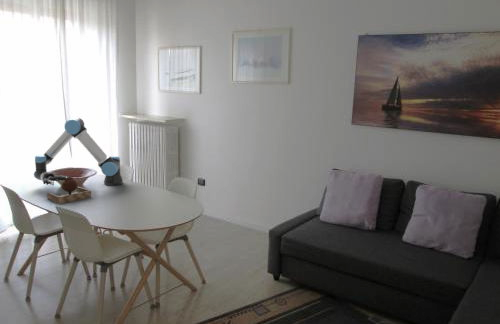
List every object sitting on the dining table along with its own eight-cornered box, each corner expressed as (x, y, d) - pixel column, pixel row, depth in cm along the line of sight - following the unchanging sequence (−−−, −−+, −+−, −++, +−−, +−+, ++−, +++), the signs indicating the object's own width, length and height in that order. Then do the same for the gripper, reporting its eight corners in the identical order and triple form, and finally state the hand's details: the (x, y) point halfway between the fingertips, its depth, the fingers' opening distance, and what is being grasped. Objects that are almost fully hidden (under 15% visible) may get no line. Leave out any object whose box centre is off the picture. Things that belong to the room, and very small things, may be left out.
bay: (78, 192, 314) (78, 186, 313) (91, 197, 304) (90, 190, 303) (47, 199, 295) (47, 192, 294) (59, 204, 285) (59, 197, 284)
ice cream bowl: (58, 197, 297) (57, 177, 294) (71, 194, 307) (70, 175, 304) (68, 200, 292) (67, 179, 289) (81, 196, 302) (80, 176, 299)
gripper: (63, 179, 326) (78, 183, 313) (31, 184, 306) (46, 189, 294) (63, 170, 324) (77, 174, 312) (30, 175, 305) (45, 179, 292)
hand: (62, 181), depth 303 cm, fingers open, 13 cm apart
